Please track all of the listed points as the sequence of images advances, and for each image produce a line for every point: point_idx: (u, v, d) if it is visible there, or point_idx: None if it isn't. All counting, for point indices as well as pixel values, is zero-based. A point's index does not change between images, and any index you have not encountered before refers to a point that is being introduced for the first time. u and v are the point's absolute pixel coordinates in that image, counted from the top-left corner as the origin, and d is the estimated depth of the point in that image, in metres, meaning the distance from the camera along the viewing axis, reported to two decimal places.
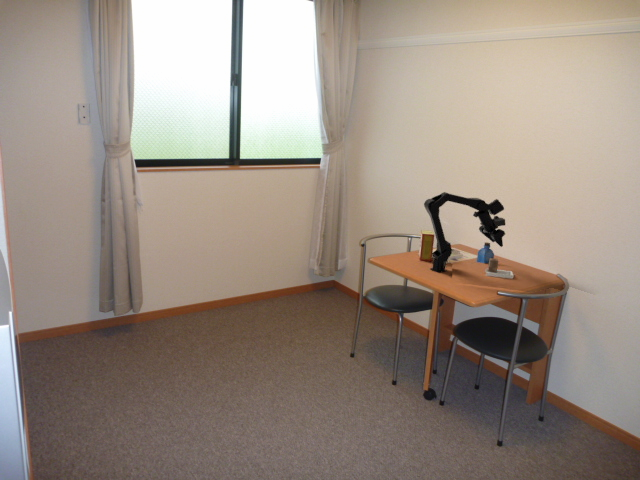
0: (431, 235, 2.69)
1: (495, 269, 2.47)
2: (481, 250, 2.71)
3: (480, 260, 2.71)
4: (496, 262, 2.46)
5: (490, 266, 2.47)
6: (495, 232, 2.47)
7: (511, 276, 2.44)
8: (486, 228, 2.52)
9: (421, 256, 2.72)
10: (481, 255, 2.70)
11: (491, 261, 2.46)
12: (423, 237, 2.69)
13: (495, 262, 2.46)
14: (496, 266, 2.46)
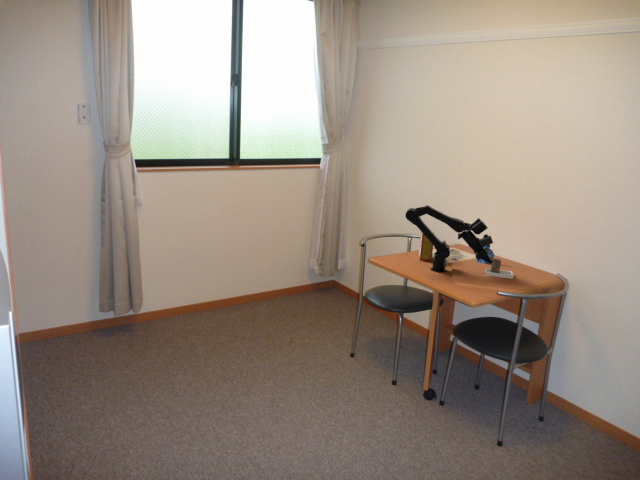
0: None
1: (498, 269, 2.46)
2: None
3: (480, 260, 2.71)
4: (499, 262, 2.45)
5: (493, 266, 2.47)
6: (478, 252, 2.42)
7: (511, 276, 2.44)
8: (472, 248, 2.48)
9: (421, 256, 2.72)
10: None
11: (494, 261, 2.46)
12: (423, 237, 2.69)
13: (498, 262, 2.45)
14: (499, 266, 2.46)
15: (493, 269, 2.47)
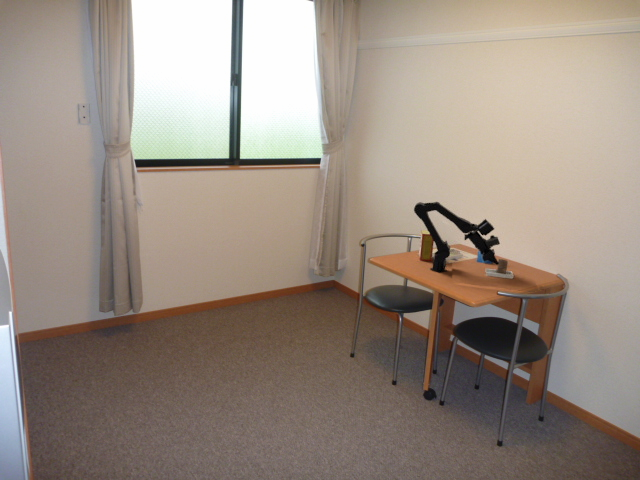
0: None
1: (504, 270, 2.46)
2: None
3: (480, 260, 2.71)
4: (505, 263, 2.45)
5: (499, 267, 2.46)
6: (484, 253, 2.41)
7: (511, 276, 2.44)
8: (479, 249, 2.47)
9: (421, 256, 2.72)
10: (481, 255, 2.70)
11: (500, 262, 2.45)
12: (423, 237, 2.69)
13: (504, 263, 2.45)
14: (505, 267, 2.45)
15: (500, 270, 2.46)
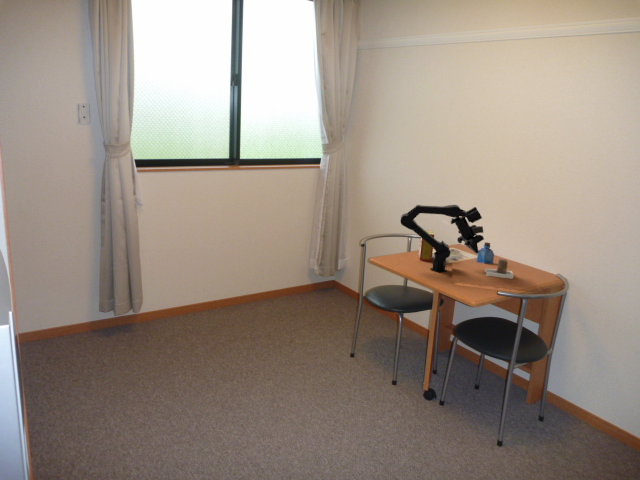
0: (431, 235, 2.69)
1: (504, 270, 2.46)
2: (481, 250, 2.71)
3: (480, 260, 2.71)
4: (505, 263, 2.45)
5: (499, 267, 2.46)
6: (474, 237, 2.42)
7: (511, 276, 2.44)
8: (464, 235, 2.47)
9: (421, 256, 2.72)
10: (481, 255, 2.70)
11: (500, 262, 2.45)
12: None
13: (504, 263, 2.45)
14: (505, 267, 2.45)
15: (500, 270, 2.46)
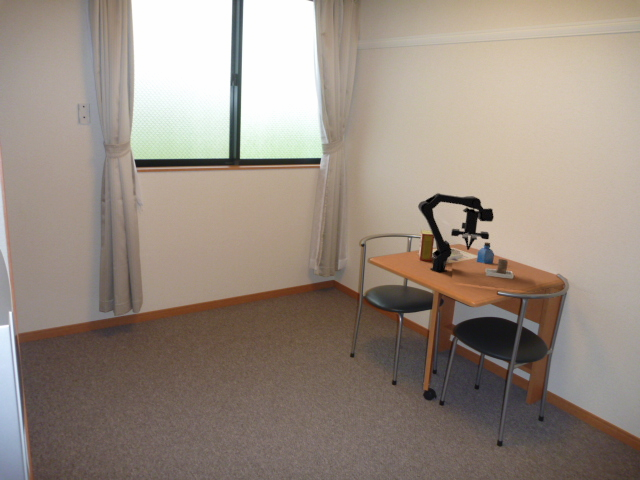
0: (431, 235, 2.69)
1: (504, 270, 2.46)
2: (481, 250, 2.71)
3: (480, 260, 2.71)
4: (505, 263, 2.45)
5: (499, 267, 2.46)
6: (484, 232, 2.49)
7: (511, 276, 2.44)
8: (474, 228, 2.48)
9: (421, 256, 2.72)
10: (481, 255, 2.70)
11: (500, 262, 2.45)
12: (423, 237, 2.69)
13: (504, 263, 2.45)
14: (505, 267, 2.45)
15: (500, 270, 2.46)
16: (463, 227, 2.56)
